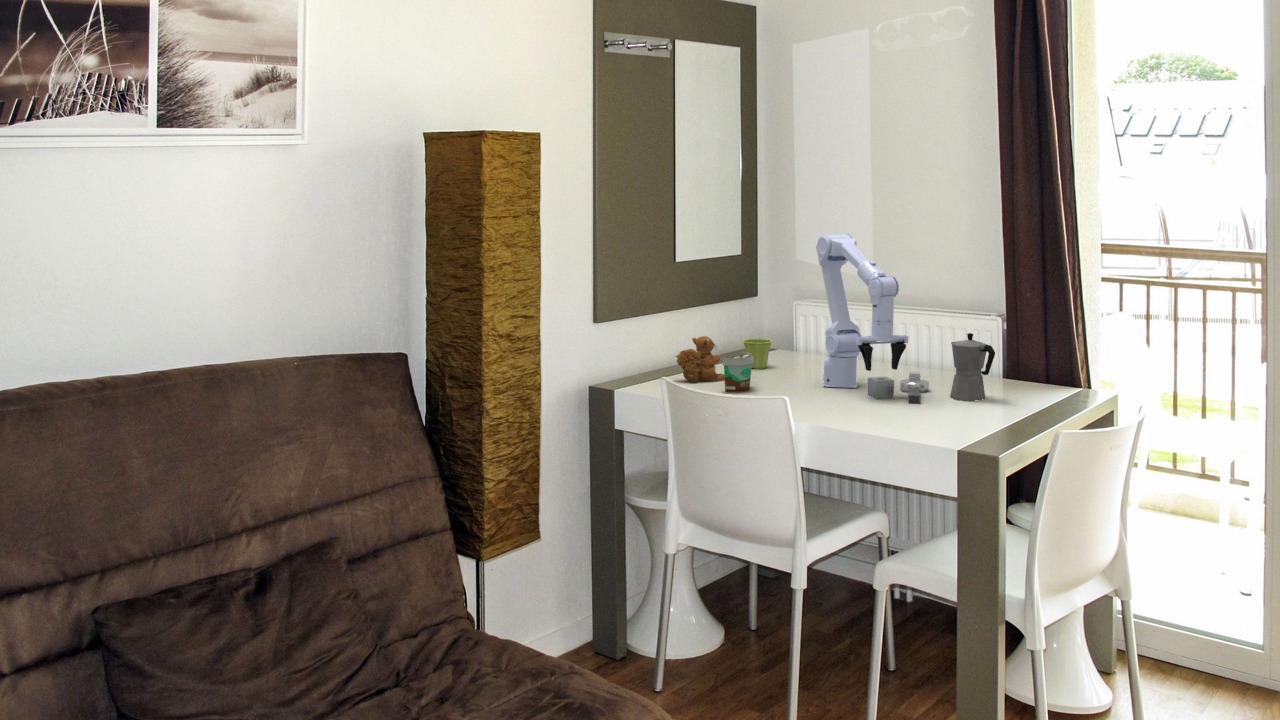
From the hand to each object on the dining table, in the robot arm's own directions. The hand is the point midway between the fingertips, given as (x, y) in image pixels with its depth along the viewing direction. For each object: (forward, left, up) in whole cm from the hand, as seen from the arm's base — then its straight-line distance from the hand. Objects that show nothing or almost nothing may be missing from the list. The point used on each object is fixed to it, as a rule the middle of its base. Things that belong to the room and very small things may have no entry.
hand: (881, 369), depth 298 cm
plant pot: (-40, +39, -8) cm, 56 cm away
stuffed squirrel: (-54, +14, -8) cm, 56 cm away
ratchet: (+9, +4, -8) cm, 12 cm away
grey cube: (0, 0, -8) cm, 8 cm away
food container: (-39, +2, -8) cm, 40 cm away
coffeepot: (+24, +2, -8) cm, 25 cm away
